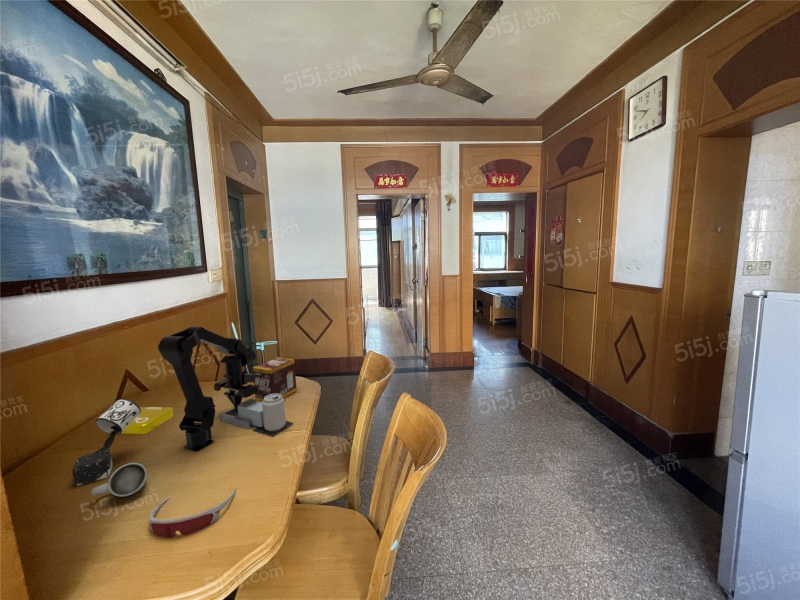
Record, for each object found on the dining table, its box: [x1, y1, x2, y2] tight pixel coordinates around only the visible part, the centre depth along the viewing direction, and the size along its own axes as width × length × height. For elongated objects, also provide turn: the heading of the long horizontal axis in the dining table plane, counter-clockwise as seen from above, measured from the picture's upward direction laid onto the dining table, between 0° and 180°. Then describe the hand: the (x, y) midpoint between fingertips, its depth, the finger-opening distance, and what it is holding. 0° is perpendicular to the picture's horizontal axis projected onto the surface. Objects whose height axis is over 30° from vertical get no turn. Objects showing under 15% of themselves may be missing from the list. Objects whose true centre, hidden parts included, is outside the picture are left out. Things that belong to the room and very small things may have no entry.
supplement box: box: [252, 356, 297, 402], centre depth 149 cm, size 10×15×16 cm
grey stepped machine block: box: [238, 398, 264, 427], centre depth 125 cm, size 6×12×7 cm, turn 65°
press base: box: [219, 406, 294, 438], centre depth 125 cm, size 10×28×3 cm, turn 65°
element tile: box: [120, 406, 174, 435], centre depth 126 cm, size 15×15×5 cm
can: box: [262, 393, 287, 431], centre depth 120 cm, size 8×8×12 cm
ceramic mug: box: [91, 462, 148, 498], centre depth 87 cm, size 11×8×8 cm
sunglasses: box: [148, 484, 237, 538], centre depth 81 cm, size 17×17×5 cm
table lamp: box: [71, 398, 141, 487], centre depth 98 cm, size 25×10×10 cm
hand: (237, 408), depth 129 cm, fingers closed
